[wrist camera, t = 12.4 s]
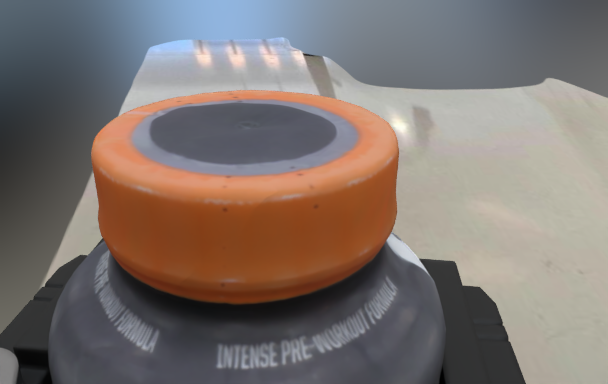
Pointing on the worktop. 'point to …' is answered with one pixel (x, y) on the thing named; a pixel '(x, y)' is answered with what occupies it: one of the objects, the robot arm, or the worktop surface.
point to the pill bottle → (247, 251)
